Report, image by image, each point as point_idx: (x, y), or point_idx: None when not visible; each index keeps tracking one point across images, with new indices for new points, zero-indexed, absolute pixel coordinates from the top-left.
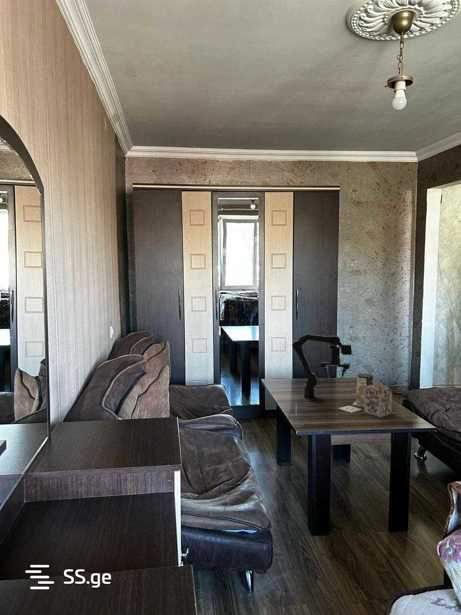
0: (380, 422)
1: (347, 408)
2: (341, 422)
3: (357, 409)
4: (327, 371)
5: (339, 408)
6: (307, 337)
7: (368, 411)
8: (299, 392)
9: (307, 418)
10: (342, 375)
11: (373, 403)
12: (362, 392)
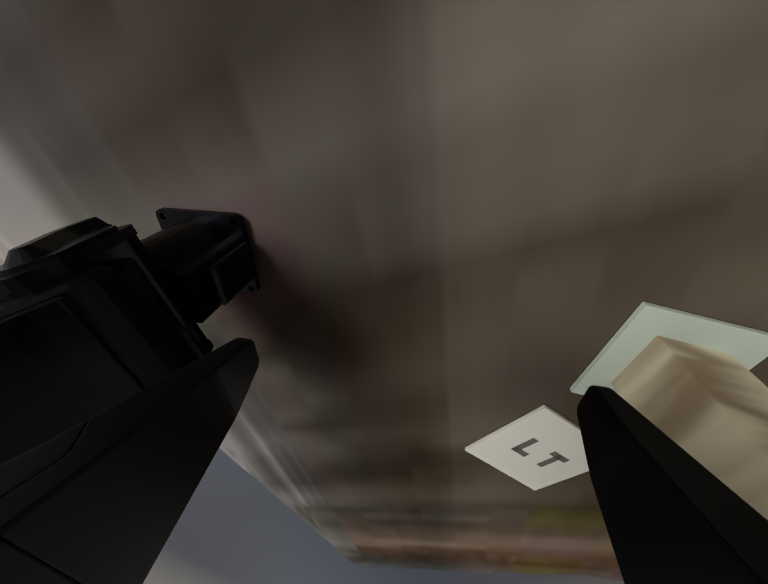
0: None
1: (522, 450)
2: (477, 547)
3: (586, 460)
4: (134, 546)
5: (472, 452)
6: None
7: None
8: (54, 122)
9: (352, 521)
10: (633, 545)
11: None
12: None
